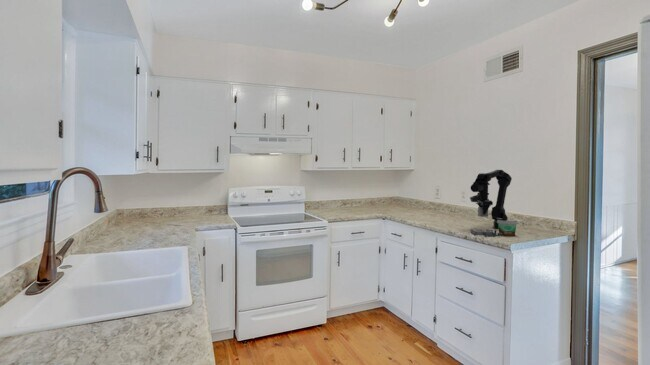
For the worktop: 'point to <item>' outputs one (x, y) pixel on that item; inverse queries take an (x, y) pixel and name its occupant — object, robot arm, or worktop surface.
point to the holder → (488, 232)
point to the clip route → (491, 235)
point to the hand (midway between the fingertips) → (482, 213)
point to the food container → (507, 227)
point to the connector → (480, 212)
